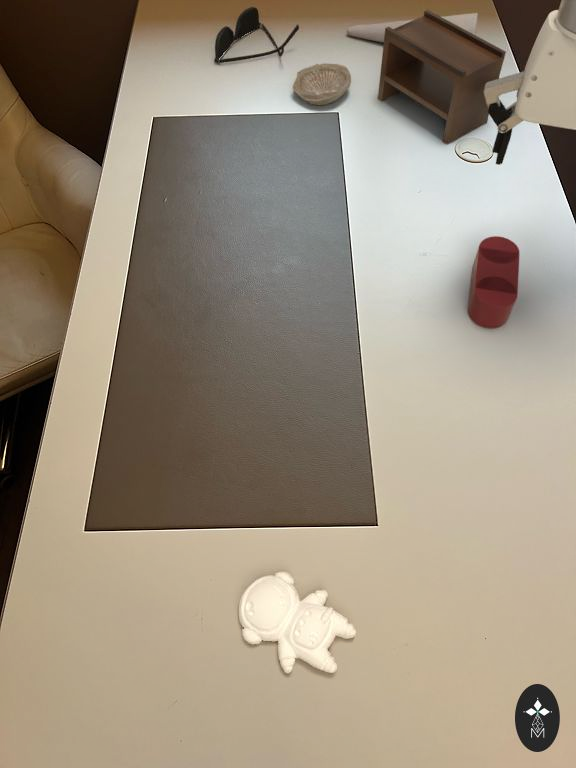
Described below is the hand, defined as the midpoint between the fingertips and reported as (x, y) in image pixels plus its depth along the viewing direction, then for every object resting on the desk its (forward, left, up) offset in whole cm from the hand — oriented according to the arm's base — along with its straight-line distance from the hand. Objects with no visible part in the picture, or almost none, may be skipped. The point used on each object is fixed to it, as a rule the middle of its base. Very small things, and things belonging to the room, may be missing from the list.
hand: (541, 165), depth 73 cm
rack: (-23, -37, -20) cm, 48 cm away
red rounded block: (+2, 0, -20) cm, 20 cm away
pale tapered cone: (-34, -55, -20) cm, 68 cm away
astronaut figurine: (+52, +19, -20) cm, 59 cm away
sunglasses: (-11, -73, -20) cm, 76 cm away
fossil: (-11, -54, -20) cm, 58 cm away
